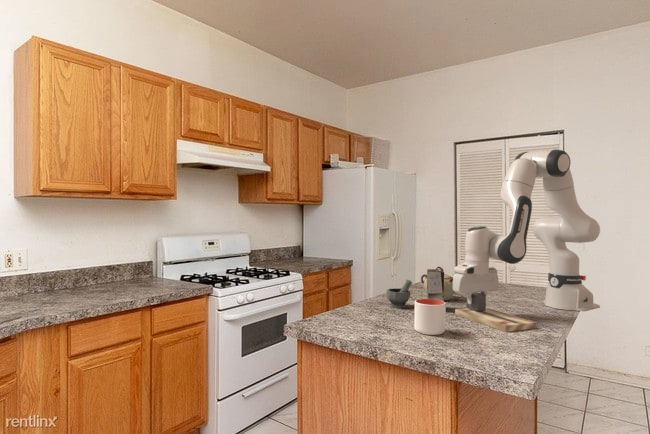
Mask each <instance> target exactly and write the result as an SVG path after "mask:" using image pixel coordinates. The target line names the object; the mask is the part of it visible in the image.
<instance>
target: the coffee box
mask: <svg viewBox="0 0 650 434" xmlns="http://www.w3.org/2000/svg"><path fill="white" fill-rule="evenodd" d="M442 269H443V268H442ZM442 269H439V268H438V269H435V268H434V269H433V268H432V269H430V268H427V269H426V270H427V271H426V275H427V292H426V299H436V300H441V301H444V302H445V300H444V274H445V271H444V269H443V270H442Z"/></svg>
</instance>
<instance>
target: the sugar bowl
mask: <svg viewBox="0 0 650 434" xmlns="http://www.w3.org/2000/svg"><path fill="white" fill-rule="evenodd" d="M436 269H442V270H443V271H444V269H443V268H442V266H437V267H436ZM424 277H425V278H424ZM420 281H421V283H422V285H423V288H424V290H425V292H426V293H427V274H422V275H421V276H420ZM455 293H456V292H454V290H453V276H451V275H448V274H446V273H444V301H449V300H451V298H452V297H453V295H455Z"/></svg>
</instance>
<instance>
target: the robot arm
mask: <svg viewBox="0 0 650 434" xmlns="http://www.w3.org/2000/svg"><path fill="white" fill-rule="evenodd" d="M570 167H571V158H570V155H569V154H568V153H567V151H565V150H561V149H539V150H533V151H524V152H521V153H519V154H518V155H516V157H515V158H514V160H513V161H512V163H511V164H510V165H509V168H508V170H507V172H506V174H505V177H504V180H503V183H502V185H501V188H500V199H501V201H502V203H504V205H506V206H508V207H509V208H510V209H511V212H512V217H511V221H510V225H509V230H508V233H507V234H506V235H500V234H498V233H495V232H493V231H492V230H490V229H489V228H488V227H487V226H474V227H470V228H468V229H467V231H466V234H465V241H464V251H465V257H464V262H463V263H460V264H459V265H456V266H454V267H453V272H454V274H453V276H452V278H453V290H454V292H455V293H456V294H464V295H465V297H466V300H467V299H468V304H473V303H474V300H473V299H472V298H471V296H470V295H472V293H474V292H477V293H481V294H485V295H486V296H488V292H497V291H498V290H499V288H500V283H499V275H498V270H497V269H496V268H495V267H493V266H492V267H490V259H493V260H496V261H502V262H505V263H507V264H511V265H514V264H518V263H520V262H522V261H523V260H524V258H525V257H526V254H527V238H528V237H527V236H528V231H529V227H530V221H531V216H532V210H533V205H532V204H533V202H532V194H533V190H534V186H535V182H536V178H542V185H543V194H544V200H545V204H546V206H547V208H548V209H550V210H551V211H554V212H556V213H557V214H558V215H559V216H545V217H544V216H543V217H540V218H537V219H536V220H534V223H533V225H532V233H533V234H534V236H535V237H536V239H538V240H539V241H540V242H541V243H542V244H543V246H544V248H545V249H546V251H547V255H548V261H549V262H548V264H549V270H548V271H549V272H548V274H547V281H548V283H547V284H546V292H545V298H544V299H543V303H544V305H545V306H547V307H549V308H553V309H559V310H566V311H576V312H588V311H592V310H596V309H597V310H598V309H600V308H601V306H600V304H597V303H594V295H593V293H592V292H591V291H590V290H589V289H588V288H587V287H586V286H585V285H583V281H586V279H587V276H586V275H580V257H579V255H577V253H575V252H574V251H572V250H570V249H569V248H568V246H567V245H566V243H576V244H579V243H580V244H582V243H583V244H584V243H591V242H596V240H597V239H598V238H599V236H600V235H601V227H600V224H599V222H598V221H597V220H596V219H595V218H593V217H591V216H589V215H588V214H587V213H586V212H585V211H584V210H583V209H582V208H581V206H580V205H579V202H578V200H577V196H576V191H575V185H574V184H575V183H574V179H573V174H572V172H571V169H570Z"/></svg>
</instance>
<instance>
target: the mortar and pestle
mask: <svg viewBox="0 0 650 434" xmlns="http://www.w3.org/2000/svg"><path fill="white" fill-rule="evenodd" d="M412 284H413V282H412V280H410V279H406V280H405V283H403V286H402V287H401V288H396V287H395V288H388V289H387V290H386V297H387V299H388V301H389V302H390V307H391V308H394V309H405V308H406V306H407V305H406V304H407V302H408V301H409V300H410V297H411V290H410V287H411V285H412Z"/></svg>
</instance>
